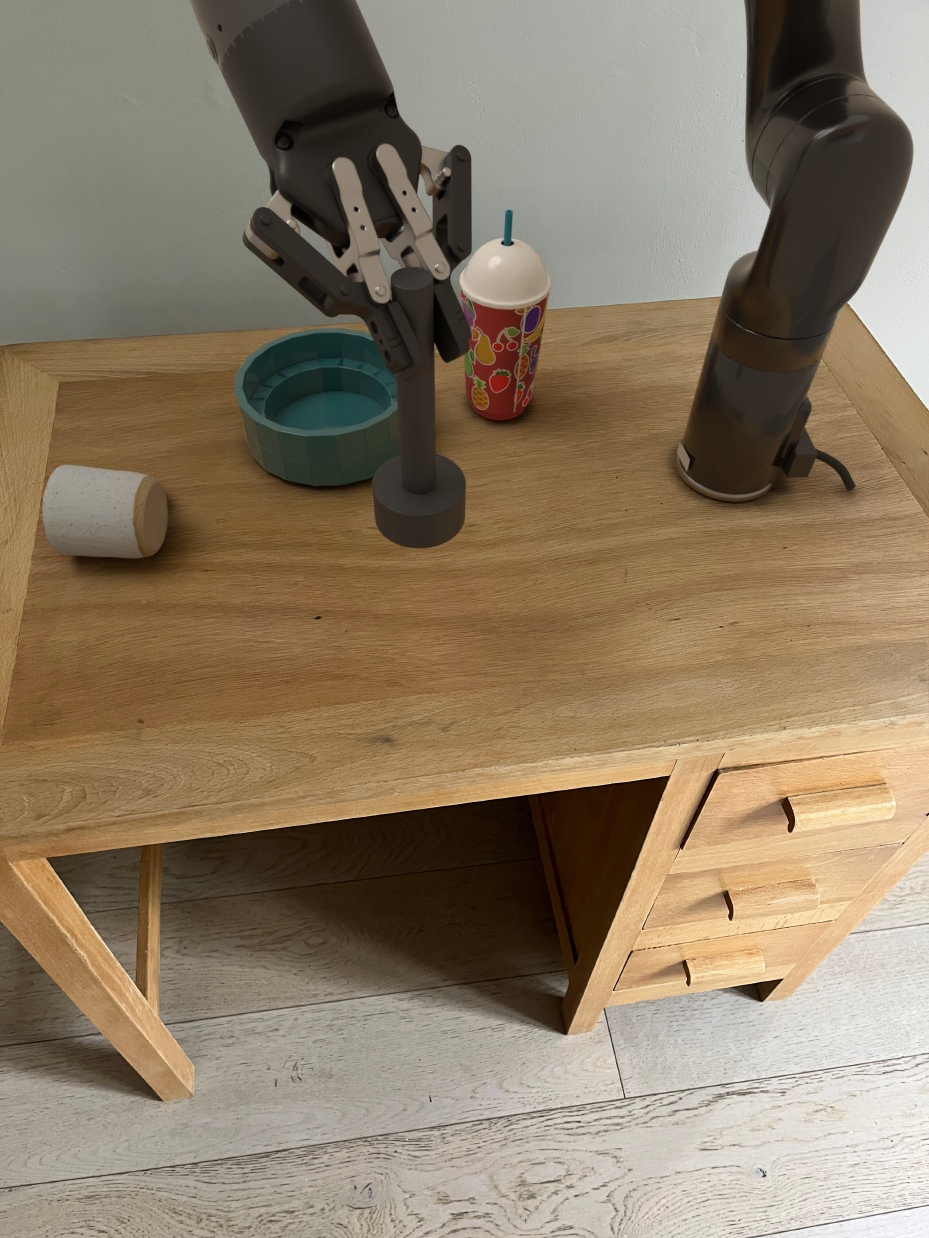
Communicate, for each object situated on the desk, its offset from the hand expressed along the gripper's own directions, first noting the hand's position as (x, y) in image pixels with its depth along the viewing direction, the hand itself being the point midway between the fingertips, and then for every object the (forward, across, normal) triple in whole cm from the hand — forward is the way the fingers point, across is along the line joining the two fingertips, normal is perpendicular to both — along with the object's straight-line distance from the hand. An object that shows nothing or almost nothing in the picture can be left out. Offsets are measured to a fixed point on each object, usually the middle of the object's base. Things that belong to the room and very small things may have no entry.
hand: (437, 365), depth 46 cm
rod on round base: (+8, 0, +11) cm, 13 cm away
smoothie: (+4, +25, +36) cm, 44 cm away
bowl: (-1, +8, +40) cm, 41 cm away
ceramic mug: (0, -14, +40) cm, 42 cm away
